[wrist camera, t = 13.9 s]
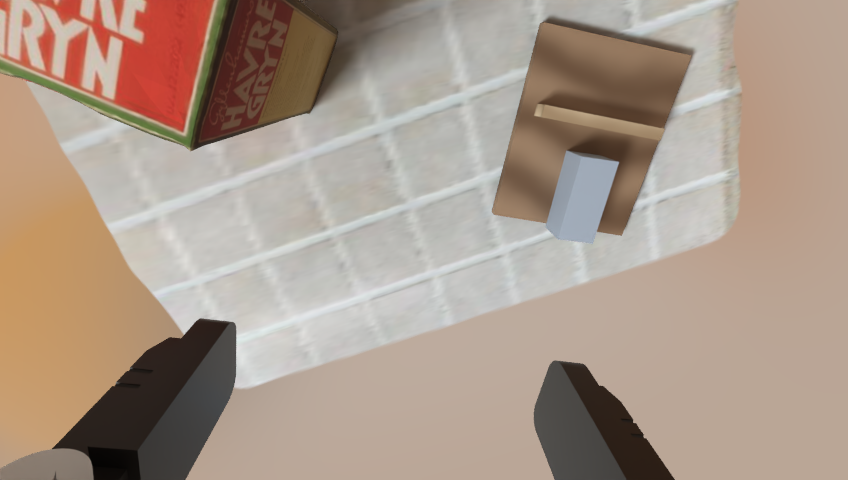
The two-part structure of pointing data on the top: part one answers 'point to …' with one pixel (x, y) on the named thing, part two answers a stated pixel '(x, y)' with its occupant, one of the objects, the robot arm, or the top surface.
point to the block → (580, 196)
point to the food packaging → (172, 60)
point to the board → (587, 118)
